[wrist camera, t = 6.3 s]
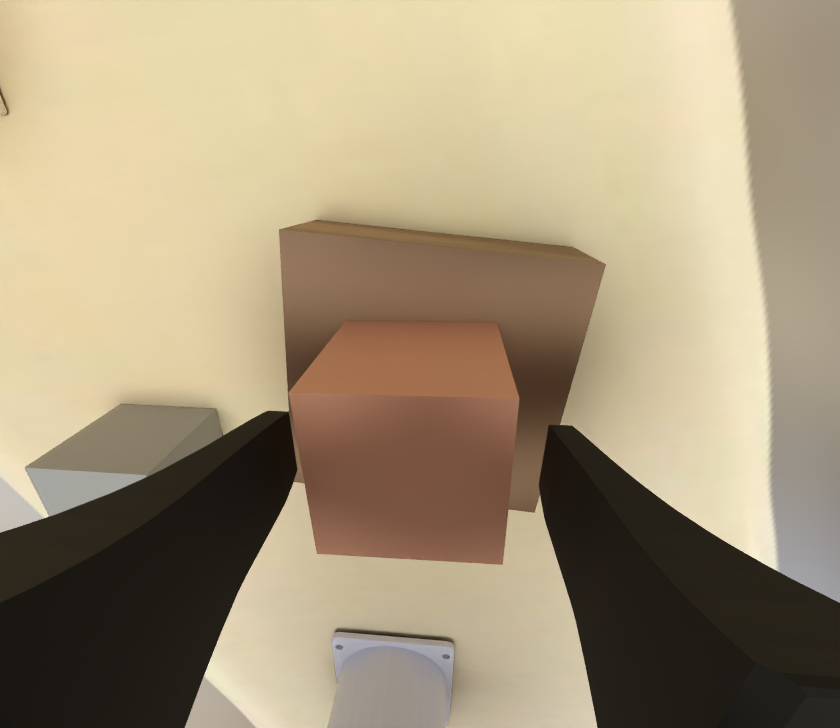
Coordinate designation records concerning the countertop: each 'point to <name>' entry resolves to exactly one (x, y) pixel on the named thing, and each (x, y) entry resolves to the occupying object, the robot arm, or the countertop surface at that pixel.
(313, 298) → the walnut block
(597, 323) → the countertop surface
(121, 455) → the grey cube
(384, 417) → the salmon pink cube
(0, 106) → the ink cartridge box
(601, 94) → the countertop surface
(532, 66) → the countertop surface
